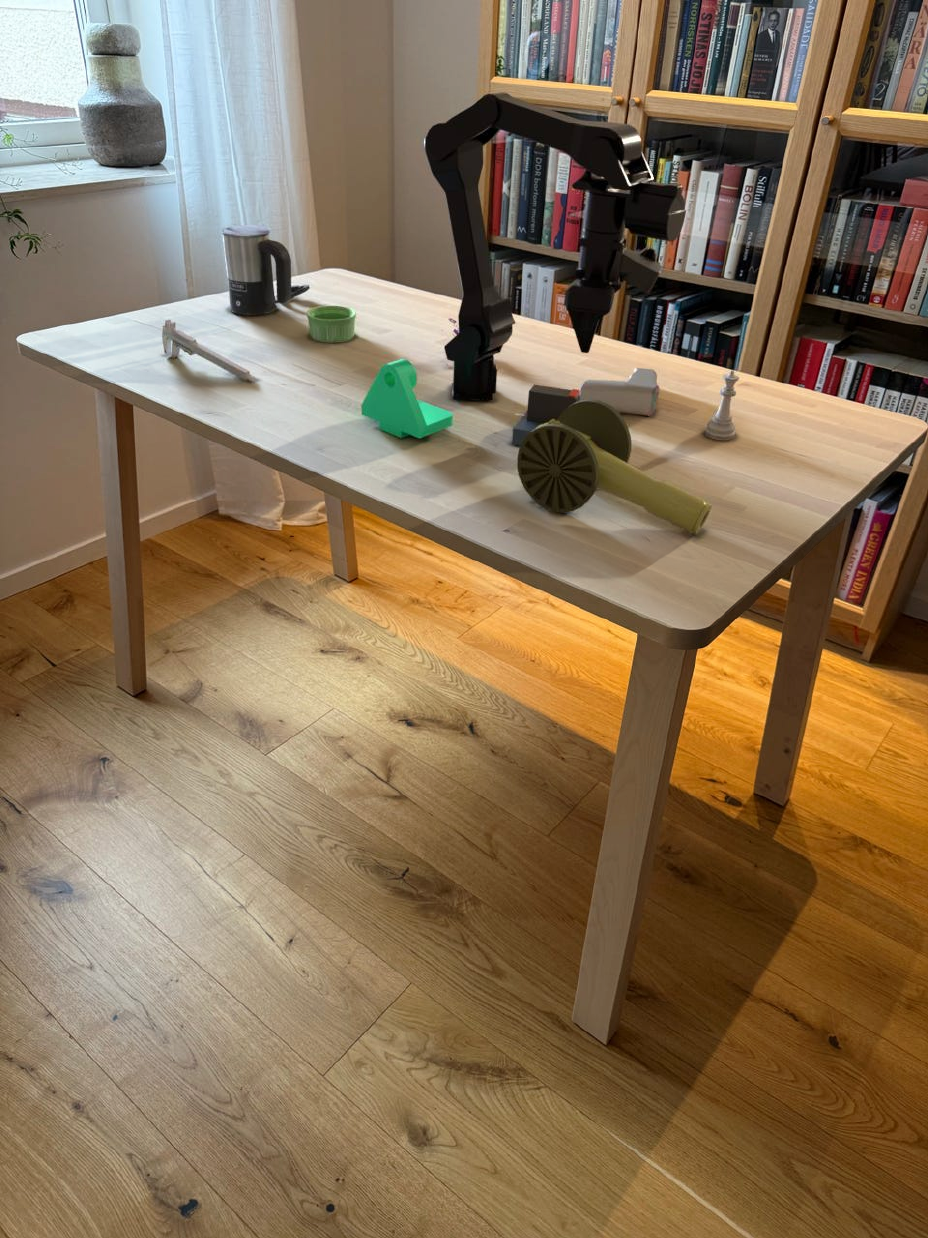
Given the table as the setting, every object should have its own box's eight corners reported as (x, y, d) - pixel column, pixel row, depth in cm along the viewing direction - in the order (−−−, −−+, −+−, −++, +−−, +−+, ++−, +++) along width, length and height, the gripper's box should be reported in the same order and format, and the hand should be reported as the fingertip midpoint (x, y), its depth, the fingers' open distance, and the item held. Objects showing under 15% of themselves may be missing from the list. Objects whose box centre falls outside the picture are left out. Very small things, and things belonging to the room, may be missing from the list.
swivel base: (503, 444, 136) (504, 427, 135) (524, 417, 145) (525, 400, 144) (592, 460, 133) (594, 442, 132) (607, 431, 142) (610, 414, 141)
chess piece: (698, 431, 144) (710, 366, 138) (722, 427, 145) (735, 364, 139) (715, 442, 140) (729, 377, 135) (739, 438, 142) (754, 373, 136)
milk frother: (221, 313, 182) (212, 232, 174) (249, 291, 195) (243, 215, 187) (292, 320, 181) (287, 238, 173) (316, 297, 194) (312, 221, 185)
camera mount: (455, 430, 140) (457, 363, 134) (419, 445, 135) (420, 375, 129) (397, 408, 146) (397, 342, 140) (361, 421, 141) (360, 353, 136)
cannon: (719, 516, 121) (737, 433, 114) (686, 554, 112) (703, 467, 106) (545, 466, 131) (553, 387, 124) (503, 498, 122) (509, 415, 116)
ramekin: (330, 325, 179) (329, 302, 177) (366, 335, 175) (366, 311, 172) (297, 336, 173) (295, 312, 170) (334, 347, 169) (333, 322, 166)
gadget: (526, 420, 138) (528, 389, 135) (531, 413, 140) (534, 382, 137) (573, 428, 136) (576, 396, 133) (577, 420, 138) (581, 389, 136)
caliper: (164, 355, 162) (159, 318, 158) (169, 353, 163) (164, 317, 159) (251, 382, 153) (248, 344, 149) (256, 381, 154) (252, 342, 150)
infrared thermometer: (657, 391, 159) (655, 419, 146) (585, 383, 161) (577, 410, 148) (661, 364, 157) (659, 390, 144) (588, 356, 159) (580, 381, 146)
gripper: (657, 250, 119) (638, 371, 128) (668, 221, 134) (651, 330, 143) (569, 241, 121) (557, 360, 130) (591, 213, 136) (578, 321, 145)
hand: (589, 342), depth 137 cm, fingers open, 9 cm apart
